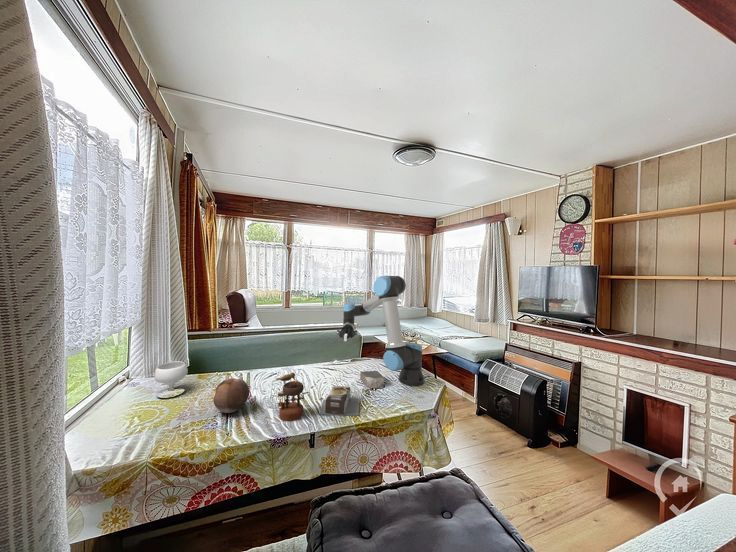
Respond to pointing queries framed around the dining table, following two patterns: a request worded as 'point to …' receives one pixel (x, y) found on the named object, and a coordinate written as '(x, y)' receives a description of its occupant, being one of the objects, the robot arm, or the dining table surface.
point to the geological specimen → (372, 379)
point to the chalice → (171, 373)
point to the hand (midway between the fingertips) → (345, 338)
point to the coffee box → (337, 400)
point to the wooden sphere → (231, 395)
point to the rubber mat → (350, 410)
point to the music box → (291, 409)
